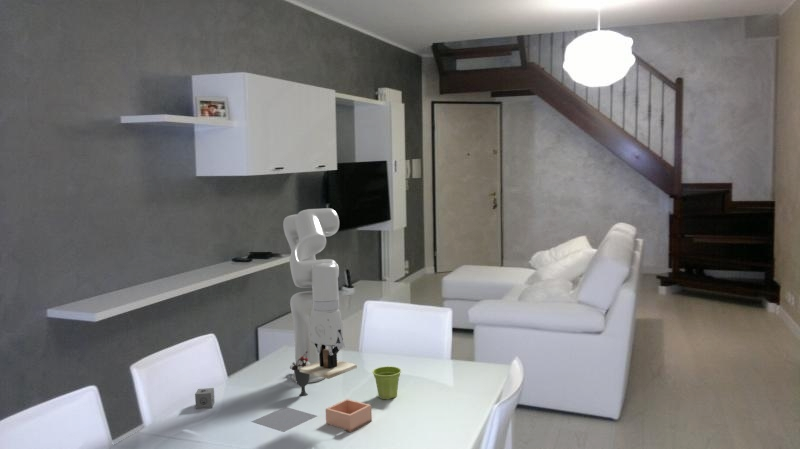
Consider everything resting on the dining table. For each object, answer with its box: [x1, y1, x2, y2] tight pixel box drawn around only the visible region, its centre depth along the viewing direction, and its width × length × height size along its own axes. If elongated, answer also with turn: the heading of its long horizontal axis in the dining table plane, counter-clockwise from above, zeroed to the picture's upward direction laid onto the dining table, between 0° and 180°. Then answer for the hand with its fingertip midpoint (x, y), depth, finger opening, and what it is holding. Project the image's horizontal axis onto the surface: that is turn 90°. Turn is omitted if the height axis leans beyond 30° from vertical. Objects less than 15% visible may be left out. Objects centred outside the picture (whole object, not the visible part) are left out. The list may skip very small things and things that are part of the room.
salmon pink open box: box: [325, 398, 373, 433], centre depth 194 cm, size 10×10×5 cm
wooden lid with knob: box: [299, 348, 358, 380], centre depth 194 cm, size 12×12×6 cm
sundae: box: [291, 352, 310, 397], centre depth 218 cm, size 7×7×15 cm
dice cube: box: [194, 387, 215, 410], centre depth 213 cm, size 5×5×5 cm
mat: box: [251, 406, 318, 433], centre depth 198 cm, size 14×14×1 cm
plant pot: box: [372, 365, 402, 400], centre depth 216 cm, size 9×9×9 cm
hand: (328, 365), depth 194 cm, fingers closed on wooden lid with knob, 2 cm apart
